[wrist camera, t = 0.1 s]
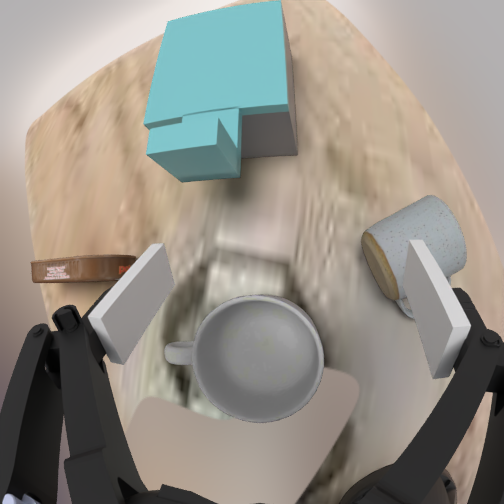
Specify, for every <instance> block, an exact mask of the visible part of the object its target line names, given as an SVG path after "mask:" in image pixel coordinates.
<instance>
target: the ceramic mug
mask: <svg viewBox="0 0 504 504" xmlns="http://www.w3.org/2000/svg"><path fill="white" fill-rule="evenodd" d="M409 240H423V241H424V243H425V244H426V246H427V248H428V249H429V251H430V252H431V254H432V256H433V257H434V259H435V260H436V262H437V264H438V265H439V267H440V269H441V271H442V272H443V274H444V276H445V277H446V279H447V281H448V283H449V285H451V276H450V275H452V274H454V273H456V272H458V271H460V270H461V269H462V268H463V267H464V266H465V263H466V258H467V251H466V245H465V240H464V236H463V233H462V231H461V228H460V226H459V223H458V221H457V220H456V218H455V216H454V215H453V213H452V211H451V210H450V209H449V207H448V206H447V205H446V204H445V203H444V202H443V201H442V200H441V199H439V198H438V197H436V196H433V195H427V196H425V197H424V198H422V199H420V200H418V201H417V202H415V203H413V204H411V205H409V206H407V207H405V208H403V209H401V210H400V211H398V212H396V213H395V214H393V215H391V216H389V217H387V218H385V219H383V220H381V221H379V222H377V223H376V224H374V225H373V226H371V227H370V228H369V229H367V230H366V231H365V232H364V233H363V235H362V239H361V243H362V248H363V251H364V254H365V257H366V259H367V262H368V264H369V267H370V269H371V271H372V273H373V275H374V277H375V279H376V281H377V283H378V285H379V287H380V288H381V290H382V292H383V293H384V294H385V296H386V297H387V298H389V299H392V300H396V302H397V304H398V305H399V307H400V308H401V310H402V311H403V312H404V313H405V314H406V315H407V316H408V317H410V318H413V319H414V316H413V313H412V310H409V309H407V308H406V307H405V305H404V304H403V301H402V299H403V298H406V297H407V296H406V293H405V291H404V288H403V285H402V284H403V279H404V272H405V266H406V259H407V252H408V244H409Z"/></svg>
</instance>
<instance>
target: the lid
mask: <svg viewBox="0 0 504 504" xmlns="http://www.w3.org/2000/svg"><path fill="white" fill-rule="evenodd" d="M275 112H289V98H288V79H287V63H286V48H285V35H284V22H283V10H282V4H281V0H279V1H269V2H260V3H252V4H246V5H239V6H233V7H227V8H222V9H217V10H212V11H207V12H203V13H198V14H194V15H190V16H186V17H182V18H178V19H175V20H171V21H168V23H167V26H166V30H165V33H164V37H163V40H162V44H161V47H160V51H159V55H158V59H157V63H156V67H155V71H154V75H153V80H152V84H151V89H150V93H149V98H148V103H147V108H146V113H145V118H144V125H145V126H146V127H147V128H148V129H149V130H150V132H149V138H148V145H147V151H146V155H147V156H149V157H150V158H151V159H153V160H154V161H155V162H156V163H158V164H159V165H160V166H162V167H163V168H164V169H165V170H167V171H168V172H169V173H171V174H172V175H173V176H174V177H176V178H177V179H178V180H180V181H181V182H191V181H202V180H214V179H226V178H240V171H241V137H242V115H252V114H263V113H275Z"/></svg>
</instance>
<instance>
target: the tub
mask: <svg viewBox="0 0 504 504" xmlns="http://www.w3.org/2000/svg"><path fill="white" fill-rule="evenodd" d="M282 10H283V9H282ZM283 22H284V35H285V48H286V63H287V79H288V98H289V112H275V113H263V114H252V115H242V137H241V158H255V157H270V156H288V155H298V150H297V128H296V110H295V94H294V79H293V66H292V55H291V50H290V44H289V39H288V34H287V28H286V23H285V18H284V14H283Z"/></svg>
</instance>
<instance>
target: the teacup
mask: <svg viewBox="0 0 504 504" xmlns="http://www.w3.org/2000/svg"><path fill="white" fill-rule="evenodd" d="M164 352H165V358H166V360H167V361H168V362H169V363H172V364H178V365H191V364H192V365H193V370H194V374H195V377H196V379H197V382H198V384H199V386H200V389H201V390H202V392H203V393H204V395H205V396H206V397H207V398H208V399H209V401H210V402H211V403H212V404H213V405H215V406H216V407H217V408H218V409H220V410H221V411H223V412H224V413H226V414H228V415H230V416H232V417H235V418H237V419H240V420H243V421H248V422H254V423H266V422H273V421H277V420H280V419H283V418H286V417H289V416H291V415H292V414H294V413H296V412H297V411H299V410H300V409H301V408H303V407H304V406H305V405H306V404H307V403H308V402H309V401H310V399H311V398H312V397H313V395H314V394H315V392H316V391H317V388H318V386H319V384H320V381H321V378H322V374H323V369H324V352H323V347H322V343H321V340H320V337H319V334H318V332H317V329H316V327H315V325H314V323H313V321H312V320H311V318H310V317H309V316H308V315H307V313H306V312H305V311H304V310H303V309H301V308H300V307H299V306H297V305H296V304H295V303H293V302H291V301H289V300H287V299H284V298H282V297H278V296H274V295H249V296H242V297H237V298H234V299H231V300H229V301H226V302H224V303H222V304H220V305H219V306H218V307H216V308H215V309H214V310H213V311H211V312H210V313H209V314H208V315H207V316H206V317H205V319H204V320H203V322H202V323H201V324H200V326H199V328H198V330H197V333H196V336H195V339H194V341H182V342H173V343H169V344H168V345H166V347H165V351H164Z"/></svg>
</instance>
